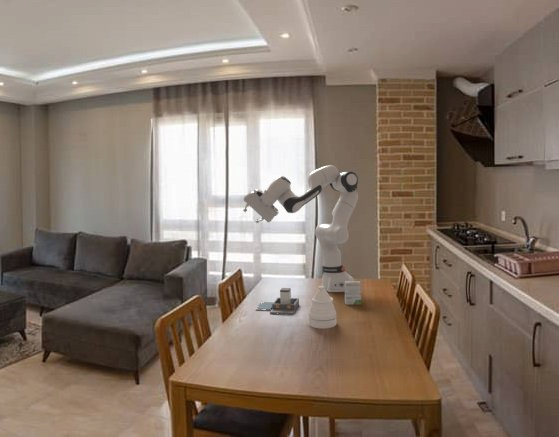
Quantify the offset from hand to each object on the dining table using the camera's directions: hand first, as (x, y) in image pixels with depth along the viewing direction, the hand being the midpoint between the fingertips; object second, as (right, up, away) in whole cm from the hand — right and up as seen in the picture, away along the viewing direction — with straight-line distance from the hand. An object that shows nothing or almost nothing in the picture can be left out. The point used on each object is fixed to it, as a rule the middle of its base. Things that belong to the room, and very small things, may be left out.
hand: (250, 216), depth 240 cm
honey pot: (+37, -50, -43) cm, 76 cm away
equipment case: (+19, -48, -21) cm, 56 cm away
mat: (+9, -48, -16) cm, 51 cm away
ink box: (+56, -46, -14) cm, 74 cm away
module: (+20, -48, -18) cm, 55 cm away
